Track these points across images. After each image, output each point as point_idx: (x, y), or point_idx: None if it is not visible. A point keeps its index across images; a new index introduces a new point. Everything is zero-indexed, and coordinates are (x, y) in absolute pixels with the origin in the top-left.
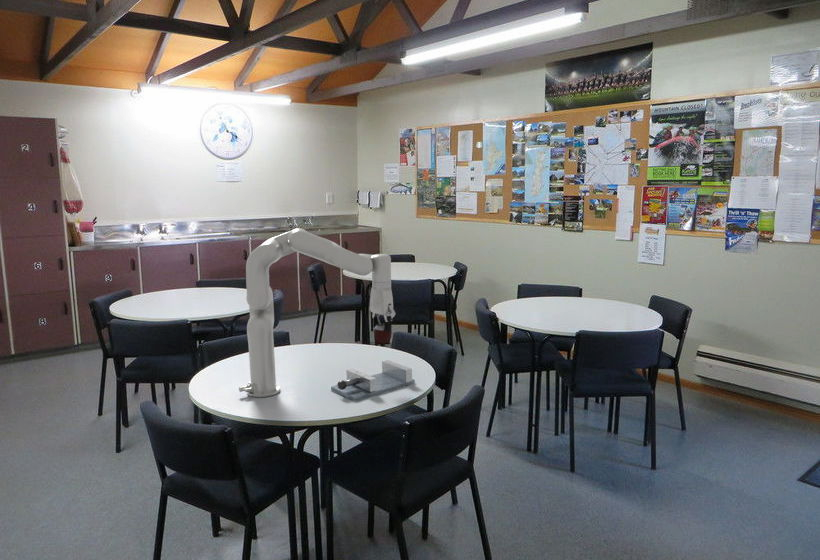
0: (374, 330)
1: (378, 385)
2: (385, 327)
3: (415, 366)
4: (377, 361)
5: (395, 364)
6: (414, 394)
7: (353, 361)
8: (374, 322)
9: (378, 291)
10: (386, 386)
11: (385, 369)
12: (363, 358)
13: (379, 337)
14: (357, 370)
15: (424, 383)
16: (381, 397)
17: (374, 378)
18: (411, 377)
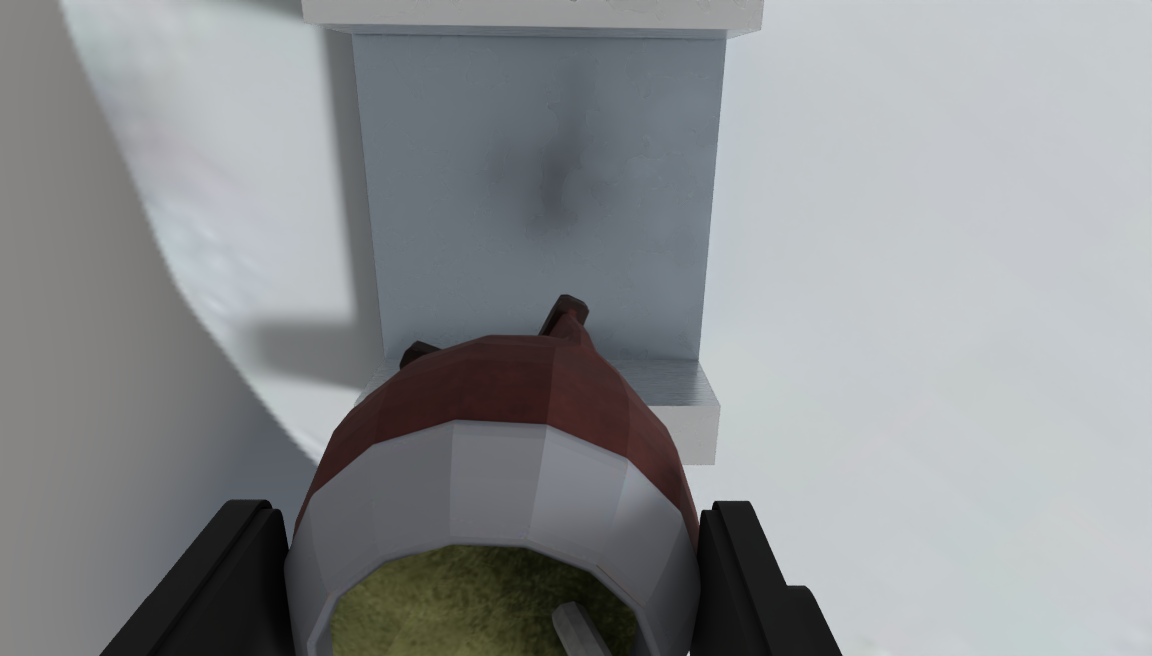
0: (584, 409)
1: (463, 142)
2: (173, 577)
3: None
4: (974, 517)
5: None
6: (199, 278)
7: (1140, 394)
8: (735, 618)
9: None
10: (399, 179)
11: (658, 376)
12: (1117, 487)
13: (419, 357)
14: (660, 25)
15: None
16: (284, 30)
17: (308, 1)
18: None
